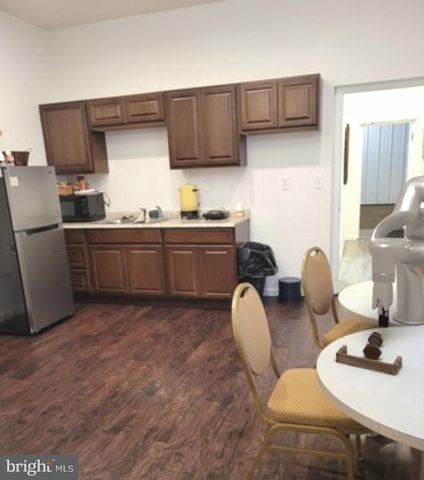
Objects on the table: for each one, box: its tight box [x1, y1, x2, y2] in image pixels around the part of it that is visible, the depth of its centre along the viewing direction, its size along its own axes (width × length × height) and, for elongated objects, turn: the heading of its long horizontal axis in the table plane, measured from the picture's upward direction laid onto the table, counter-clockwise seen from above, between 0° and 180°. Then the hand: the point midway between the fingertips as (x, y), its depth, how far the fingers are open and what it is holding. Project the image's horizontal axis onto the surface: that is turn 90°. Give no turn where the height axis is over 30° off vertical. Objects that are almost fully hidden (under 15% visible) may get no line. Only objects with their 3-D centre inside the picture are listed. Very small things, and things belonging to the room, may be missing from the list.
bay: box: [335, 344, 403, 376], centre depth 121 cm, size 7×18×3 cm, turn 52°
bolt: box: [362, 331, 384, 361], centre depth 129 cm, size 6×5×15 cm
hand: (383, 326), depth 136 cm, fingers closed
